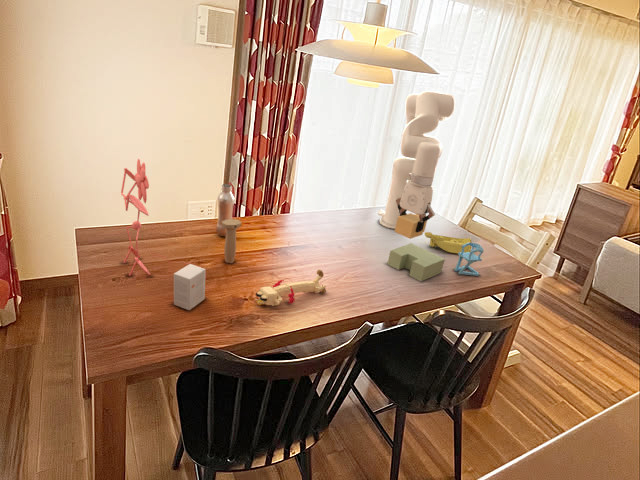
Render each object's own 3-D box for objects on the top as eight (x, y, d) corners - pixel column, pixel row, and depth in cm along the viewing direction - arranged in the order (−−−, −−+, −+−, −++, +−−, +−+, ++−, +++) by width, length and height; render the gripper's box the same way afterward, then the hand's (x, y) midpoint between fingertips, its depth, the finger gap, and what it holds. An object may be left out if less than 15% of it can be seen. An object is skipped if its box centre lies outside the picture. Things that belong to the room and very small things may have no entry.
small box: (189, 293, 146) (190, 263, 141) (205, 299, 144) (206, 268, 139) (173, 305, 139) (172, 273, 134) (189, 311, 138) (189, 279, 133)
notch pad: (387, 264, 185) (390, 250, 183) (407, 256, 195) (411, 243, 192) (421, 281, 176) (425, 267, 174) (441, 272, 186) (445, 258, 183)
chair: (450, 267, 191) (459, 240, 185) (467, 267, 194) (476, 240, 189) (462, 277, 185) (471, 249, 179) (479, 276, 188) (488, 248, 182)
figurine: (131, 289, 143) (125, 175, 127) (116, 252, 162) (109, 149, 145) (182, 282, 151) (183, 174, 134) (162, 248, 170) (160, 149, 153)
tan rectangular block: (394, 231, 173) (397, 216, 170) (412, 226, 181) (415, 211, 178) (409, 238, 169) (414, 223, 166) (427, 233, 177) (431, 218, 174)
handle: (240, 262, 169) (243, 223, 161) (224, 266, 165) (227, 226, 158) (233, 257, 172) (236, 218, 165) (217, 260, 168) (219, 220, 161)
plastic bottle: (236, 235, 189) (239, 186, 179) (224, 239, 184) (227, 189, 174) (224, 230, 192) (226, 181, 182) (212, 234, 186) (214, 184, 177)
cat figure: (310, 286, 163) (247, 296, 148) (315, 263, 160) (251, 271, 144) (328, 300, 157) (264, 312, 141) (334, 276, 153) (269, 286, 137)
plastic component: (460, 238, 215) (473, 238, 205) (458, 255, 215) (470, 255, 206) (420, 232, 210) (431, 231, 200) (418, 249, 210) (429, 249, 201)
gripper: (395, 173, 167) (384, 221, 175) (437, 188, 157) (424, 238, 165) (407, 171, 172) (396, 217, 180) (448, 186, 162) (435, 234, 170)
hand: (409, 227), depth 173 cm, fingers closed on tan rectangular block, 7 cm apart
